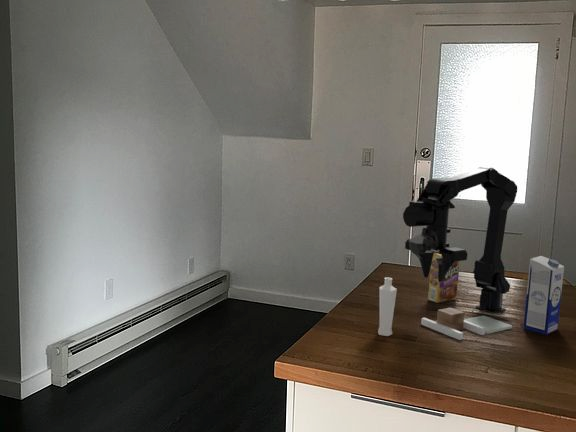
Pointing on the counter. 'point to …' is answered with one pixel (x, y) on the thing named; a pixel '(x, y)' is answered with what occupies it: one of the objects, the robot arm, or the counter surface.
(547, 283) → the milk carton
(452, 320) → the block
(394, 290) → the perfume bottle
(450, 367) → the counter surface
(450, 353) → the counter surface
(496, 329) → the pad
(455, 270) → the candy box
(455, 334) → the channel
